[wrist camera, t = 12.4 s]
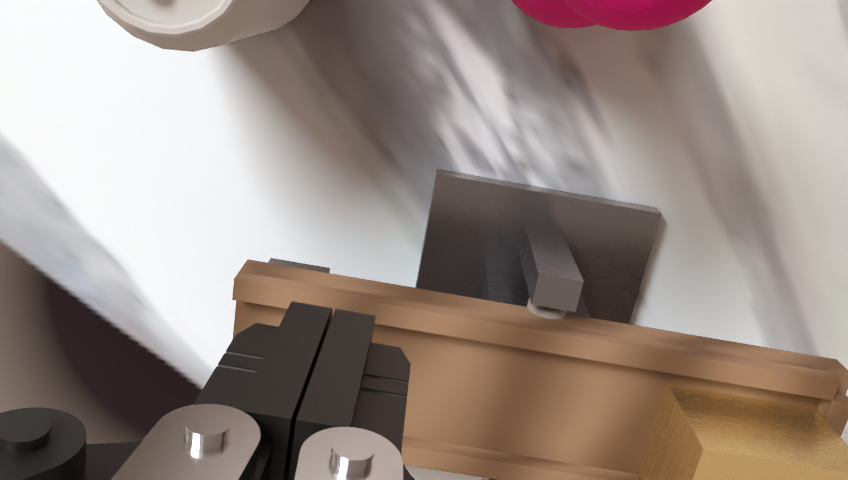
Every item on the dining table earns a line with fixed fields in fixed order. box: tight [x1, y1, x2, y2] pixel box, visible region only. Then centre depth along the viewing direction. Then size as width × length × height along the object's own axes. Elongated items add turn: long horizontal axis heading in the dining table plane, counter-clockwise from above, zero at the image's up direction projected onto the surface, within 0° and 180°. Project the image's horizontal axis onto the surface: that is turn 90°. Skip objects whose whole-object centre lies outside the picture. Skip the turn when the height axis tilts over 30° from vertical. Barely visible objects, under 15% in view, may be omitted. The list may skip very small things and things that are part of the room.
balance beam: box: [232, 258, 848, 480], centre depth 36 cm, size 28×9×5 cm, turn 80°
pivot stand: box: [415, 169, 661, 480], centre depth 38 cm, size 12×16×8 cm
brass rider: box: [638, 384, 848, 480], centre depth 32 cm, size 7×5×5 cm
